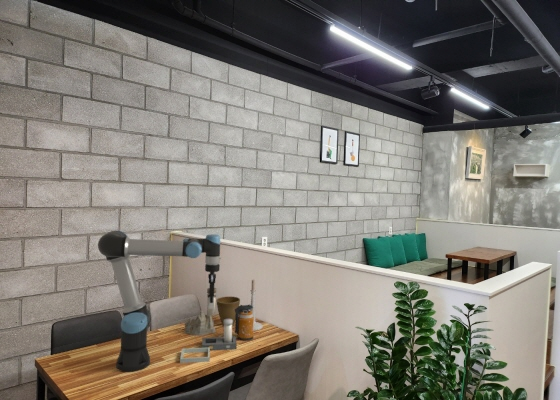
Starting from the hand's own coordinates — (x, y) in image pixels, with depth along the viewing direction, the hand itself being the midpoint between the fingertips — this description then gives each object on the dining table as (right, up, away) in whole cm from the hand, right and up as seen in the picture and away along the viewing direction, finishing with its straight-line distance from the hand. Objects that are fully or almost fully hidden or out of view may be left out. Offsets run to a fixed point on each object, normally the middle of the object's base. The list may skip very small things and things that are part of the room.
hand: (211, 306), depth 203 cm
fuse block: (+4, -22, +1) cm, 23 cm away
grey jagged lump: (-11, -22, +24) cm, 34 cm away
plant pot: (+4, -22, +38) cm, 44 cm away
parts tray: (-6, -22, -13) cm, 26 cm away
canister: (+16, -23, +14) cm, 31 cm away
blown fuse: (0, -4, 0) cm, 4 cm away
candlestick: (+19, -22, +35) cm, 46 cm away
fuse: (+8, -22, +2) cm, 23 cm away
